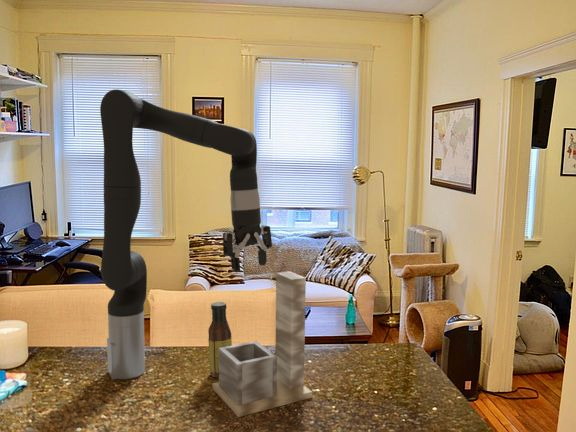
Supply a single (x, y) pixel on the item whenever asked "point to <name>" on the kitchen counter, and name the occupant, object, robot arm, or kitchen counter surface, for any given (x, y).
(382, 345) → the kitchen counter surface
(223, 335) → the sauce bottle
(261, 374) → the grey holder stand
